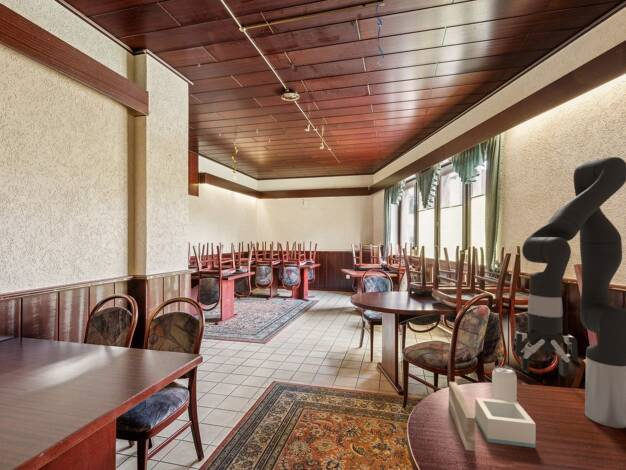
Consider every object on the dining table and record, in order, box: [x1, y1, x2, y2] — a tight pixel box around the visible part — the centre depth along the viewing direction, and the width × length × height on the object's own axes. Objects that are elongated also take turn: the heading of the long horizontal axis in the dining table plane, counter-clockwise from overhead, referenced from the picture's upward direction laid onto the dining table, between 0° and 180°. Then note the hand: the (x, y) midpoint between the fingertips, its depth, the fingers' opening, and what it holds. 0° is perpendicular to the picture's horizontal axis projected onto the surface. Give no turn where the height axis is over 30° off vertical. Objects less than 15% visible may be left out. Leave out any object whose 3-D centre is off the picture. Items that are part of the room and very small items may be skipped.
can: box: [491, 365, 518, 402], centre depth 100 cm, size 6×6×12 cm
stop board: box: [448, 381, 476, 452], centre depth 91 cm, size 2×20×8 cm, turn 169°
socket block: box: [474, 397, 537, 449], centre depth 89 cm, size 11×11×6 cm
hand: (544, 373), depth 87 cm, fingers open, 8 cm apart
